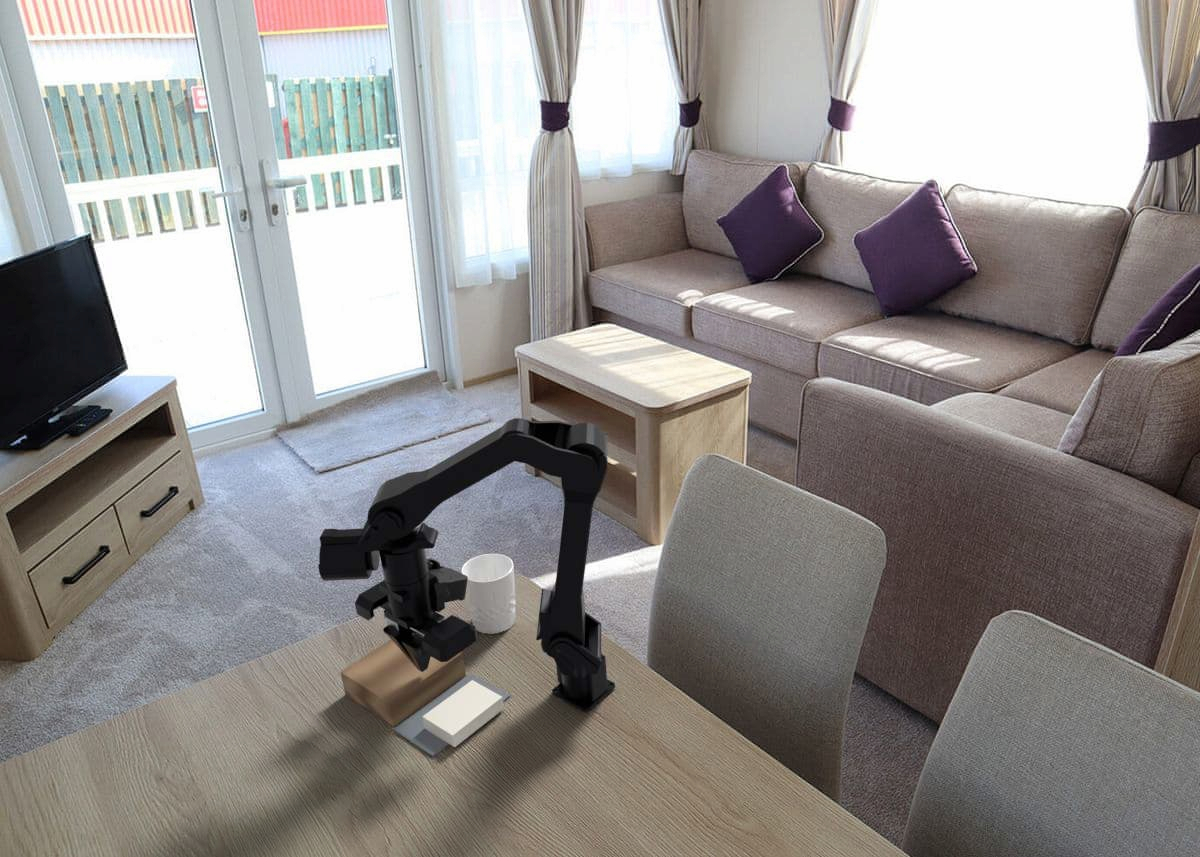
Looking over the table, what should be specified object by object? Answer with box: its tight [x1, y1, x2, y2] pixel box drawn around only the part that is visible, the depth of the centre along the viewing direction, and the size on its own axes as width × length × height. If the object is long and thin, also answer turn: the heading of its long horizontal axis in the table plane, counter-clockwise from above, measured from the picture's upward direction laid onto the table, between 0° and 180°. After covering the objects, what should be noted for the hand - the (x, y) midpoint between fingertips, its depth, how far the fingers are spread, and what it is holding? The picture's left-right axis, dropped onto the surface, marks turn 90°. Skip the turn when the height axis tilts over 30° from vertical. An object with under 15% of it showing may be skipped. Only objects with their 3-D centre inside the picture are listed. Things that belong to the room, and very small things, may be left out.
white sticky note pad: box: [422, 680, 505, 748], centre depth 124 cm, size 6×9×2 cm, turn 140°
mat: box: [393, 672, 511, 757], centre depth 126 cm, size 8×14×1 cm, turn 140°
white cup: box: [460, 553, 517, 635], centre depth 142 cm, size 8×8×10 cm
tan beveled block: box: [340, 639, 467, 728], centre depth 131 cm, size 11×13×4 cm
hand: (423, 669), depth 127 cm, fingers closed
